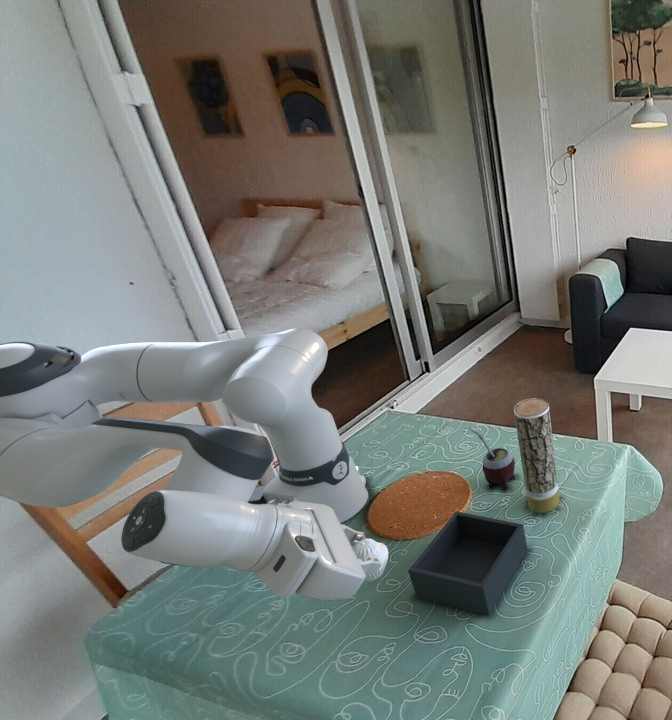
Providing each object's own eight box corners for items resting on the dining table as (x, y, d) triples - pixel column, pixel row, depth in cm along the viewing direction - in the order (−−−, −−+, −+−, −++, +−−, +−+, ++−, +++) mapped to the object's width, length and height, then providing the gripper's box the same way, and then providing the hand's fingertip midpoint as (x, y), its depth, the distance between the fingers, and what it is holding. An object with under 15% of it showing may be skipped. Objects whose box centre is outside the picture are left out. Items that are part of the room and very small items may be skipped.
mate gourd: (521, 484, 115) (513, 430, 109) (488, 498, 111) (477, 443, 105) (509, 468, 121) (501, 415, 114) (477, 480, 117) (466, 427, 110)
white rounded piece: (376, 553, 87) (366, 523, 83) (401, 566, 84) (391, 535, 81) (343, 581, 82) (331, 549, 78) (369, 594, 79) (357, 563, 76)
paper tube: (553, 517, 106) (541, 418, 95) (523, 512, 107) (507, 414, 96) (563, 495, 112) (553, 399, 101) (535, 491, 113) (522, 396, 102)
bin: (415, 597, 89) (407, 570, 86) (462, 536, 102) (456, 511, 98) (489, 615, 86) (483, 587, 82) (527, 550, 98) (523, 524, 95)
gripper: (255, 520, 78) (341, 534, 88) (280, 606, 64) (379, 610, 74) (279, 484, 78) (362, 502, 88) (309, 562, 65) (403, 573, 75)
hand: (370, 552), depth 81 cm, fingers closed on white rounded piece, 6 cm apart
